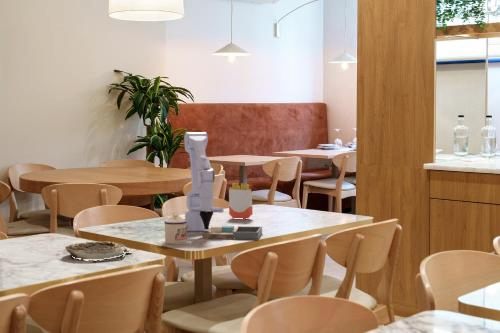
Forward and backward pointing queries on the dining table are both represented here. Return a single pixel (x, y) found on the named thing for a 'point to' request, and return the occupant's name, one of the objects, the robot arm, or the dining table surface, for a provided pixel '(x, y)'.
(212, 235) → the walnut board
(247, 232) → the tray
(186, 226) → the teacup with lid
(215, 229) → the cream tile
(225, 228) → the teal tile
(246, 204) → the french fries container
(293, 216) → the dining table surface
